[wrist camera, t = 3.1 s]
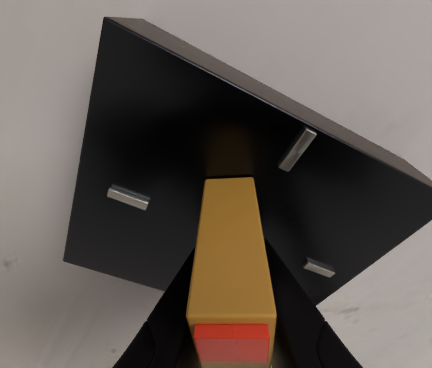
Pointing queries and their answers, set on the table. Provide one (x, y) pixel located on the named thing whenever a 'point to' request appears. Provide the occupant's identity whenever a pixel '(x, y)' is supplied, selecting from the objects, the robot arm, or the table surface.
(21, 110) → the table surface
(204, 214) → the switch box
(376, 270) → the table surface
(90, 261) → the black flat block
